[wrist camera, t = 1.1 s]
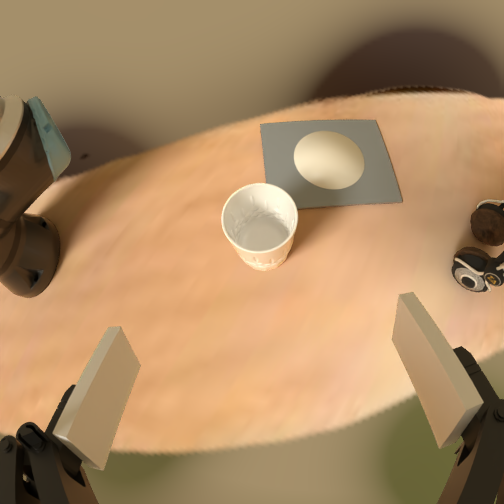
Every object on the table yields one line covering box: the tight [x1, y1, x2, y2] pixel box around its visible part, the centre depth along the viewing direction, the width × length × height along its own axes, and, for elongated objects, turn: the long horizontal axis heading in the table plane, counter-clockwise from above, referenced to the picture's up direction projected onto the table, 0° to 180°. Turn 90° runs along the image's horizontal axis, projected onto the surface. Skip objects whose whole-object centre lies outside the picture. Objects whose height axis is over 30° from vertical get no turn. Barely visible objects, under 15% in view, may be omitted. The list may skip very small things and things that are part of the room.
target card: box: [260, 120, 402, 209], centre depth 43 cm, size 20×16×1 cm
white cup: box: [221, 183, 298, 271], centre depth 35 cm, size 8×8×10 cm
